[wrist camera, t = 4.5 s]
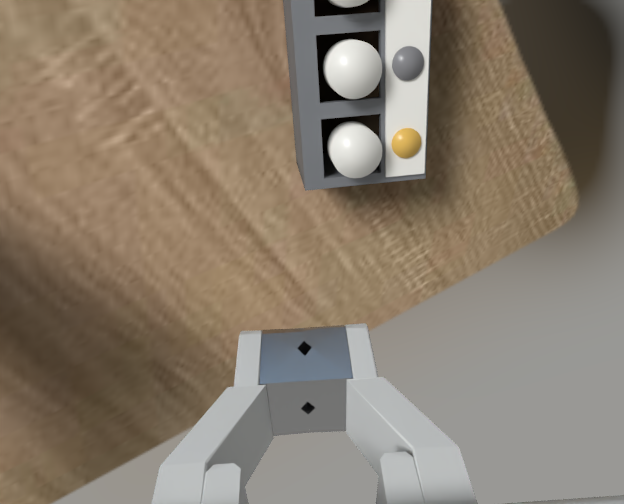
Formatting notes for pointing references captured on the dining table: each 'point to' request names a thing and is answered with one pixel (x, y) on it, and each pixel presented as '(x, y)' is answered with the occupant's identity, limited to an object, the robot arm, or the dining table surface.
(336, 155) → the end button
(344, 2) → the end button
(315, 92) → the button console
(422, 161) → the pattern card
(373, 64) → the middle button
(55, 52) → the dining table surface
